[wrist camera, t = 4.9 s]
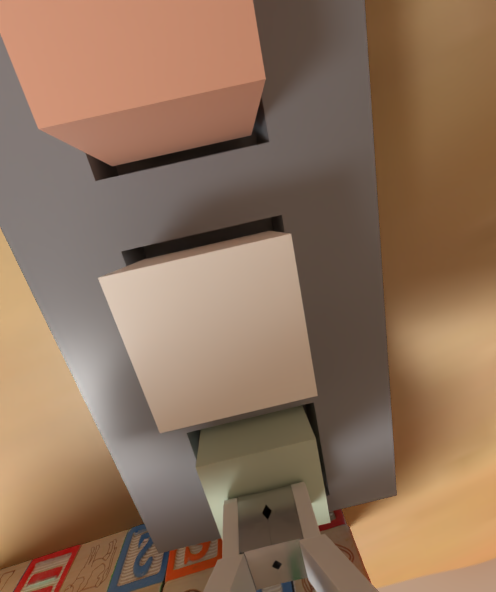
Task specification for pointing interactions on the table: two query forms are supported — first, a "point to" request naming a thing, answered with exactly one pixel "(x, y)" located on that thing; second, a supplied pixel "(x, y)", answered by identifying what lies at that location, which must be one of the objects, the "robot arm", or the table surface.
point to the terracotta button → (137, 72)
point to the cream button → (215, 329)
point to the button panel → (211, 229)
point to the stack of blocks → (147, 565)
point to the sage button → (260, 460)
